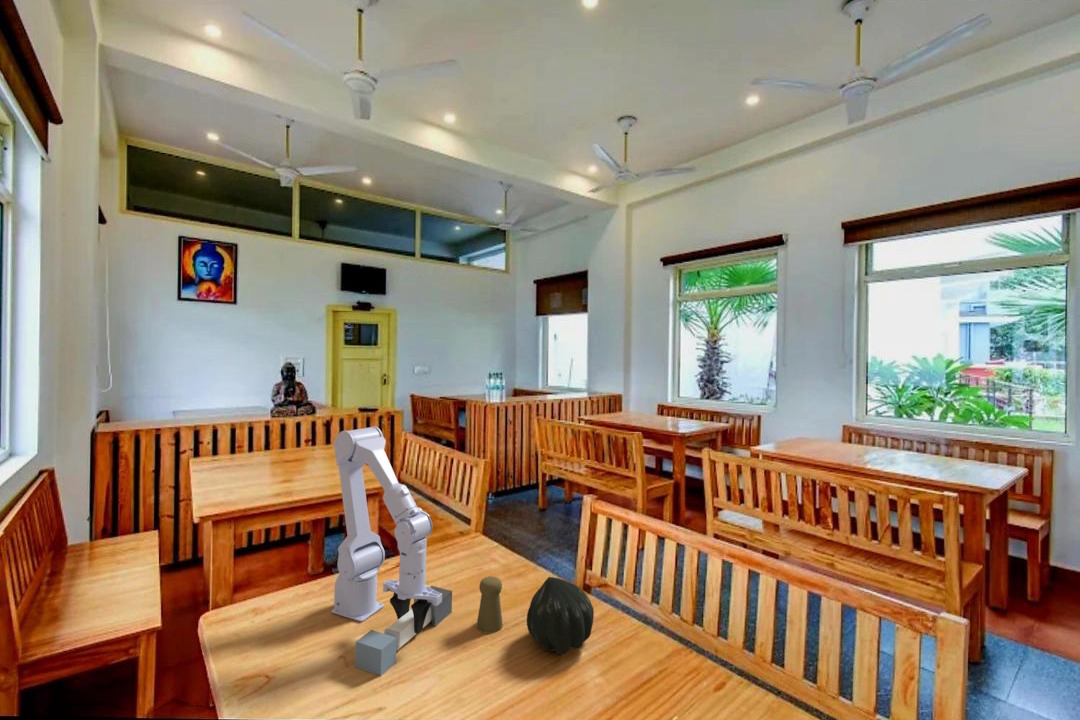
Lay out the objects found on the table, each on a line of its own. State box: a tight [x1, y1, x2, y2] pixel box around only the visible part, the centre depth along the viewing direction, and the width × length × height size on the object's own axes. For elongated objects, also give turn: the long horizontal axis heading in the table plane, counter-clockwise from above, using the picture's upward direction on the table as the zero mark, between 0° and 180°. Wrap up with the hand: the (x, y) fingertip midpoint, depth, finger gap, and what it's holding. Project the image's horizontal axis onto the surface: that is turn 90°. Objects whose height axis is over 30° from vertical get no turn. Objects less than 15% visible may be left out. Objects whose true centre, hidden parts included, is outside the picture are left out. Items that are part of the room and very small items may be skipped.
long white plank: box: [383, 605, 433, 651], centre depth 113 cm, size 4×19×4 cm, turn 157°
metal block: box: [413, 585, 453, 627], centre depth 119 cm, size 6×7×5 cm
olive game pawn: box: [476, 575, 504, 634], centre depth 115 cm, size 6×6×11 cm
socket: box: [355, 629, 397, 677], centre depth 100 cm, size 6×4×5 cm
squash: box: [526, 576, 595, 655], centre depth 110 cm, size 14×15×15 cm
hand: (411, 628), depth 111 cm, fingers closed on long white plank, 3 cm apart
